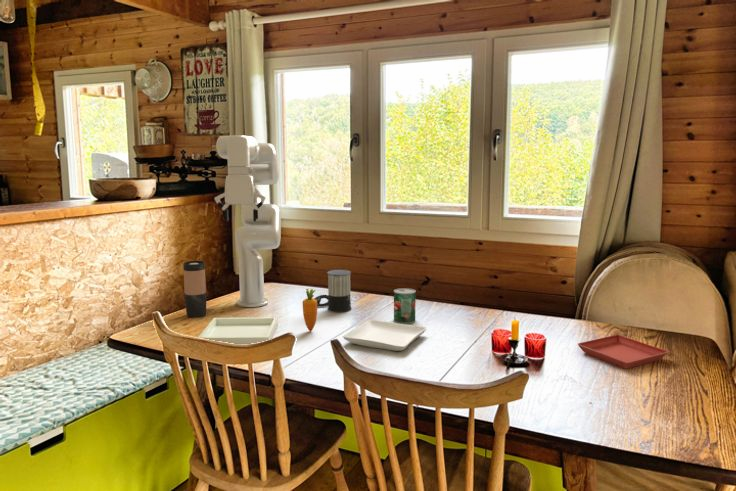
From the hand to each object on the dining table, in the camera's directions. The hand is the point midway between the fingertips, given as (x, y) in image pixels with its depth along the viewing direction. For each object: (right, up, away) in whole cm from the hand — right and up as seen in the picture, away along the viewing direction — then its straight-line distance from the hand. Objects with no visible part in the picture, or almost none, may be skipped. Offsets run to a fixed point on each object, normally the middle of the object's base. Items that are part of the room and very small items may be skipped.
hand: (241, 221), depth 199 cm
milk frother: (+30, -33, +24) cm, 51 cm away
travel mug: (-20, -35, +14) cm, 42 cm away
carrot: (+25, -38, -5) cm, 46 cm away
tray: (+2, -38, -10) cm, 40 cm away
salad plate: (+50, -40, -15) cm, 65 cm away
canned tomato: (+57, -36, +7) cm, 68 cm away
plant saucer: (+119, -42, -30) cm, 130 cm away
